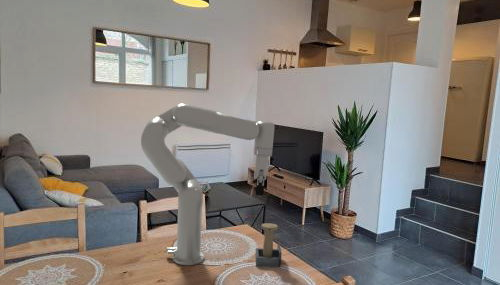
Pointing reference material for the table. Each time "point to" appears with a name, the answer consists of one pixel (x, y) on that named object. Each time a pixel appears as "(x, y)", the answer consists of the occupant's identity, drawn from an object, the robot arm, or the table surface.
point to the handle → (268, 239)
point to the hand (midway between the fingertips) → (259, 192)
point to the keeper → (269, 258)
